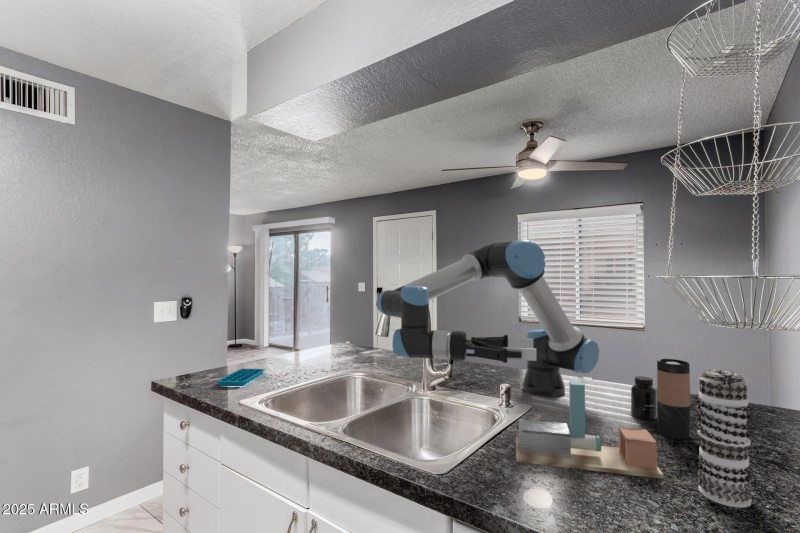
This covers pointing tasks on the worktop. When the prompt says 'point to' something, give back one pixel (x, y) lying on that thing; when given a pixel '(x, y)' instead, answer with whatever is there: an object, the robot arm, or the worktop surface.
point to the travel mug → (673, 398)
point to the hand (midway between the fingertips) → (534, 349)
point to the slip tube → (580, 420)
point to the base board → (591, 461)
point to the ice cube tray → (240, 377)
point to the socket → (637, 447)
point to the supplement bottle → (644, 399)
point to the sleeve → (544, 438)
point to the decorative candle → (724, 438)
